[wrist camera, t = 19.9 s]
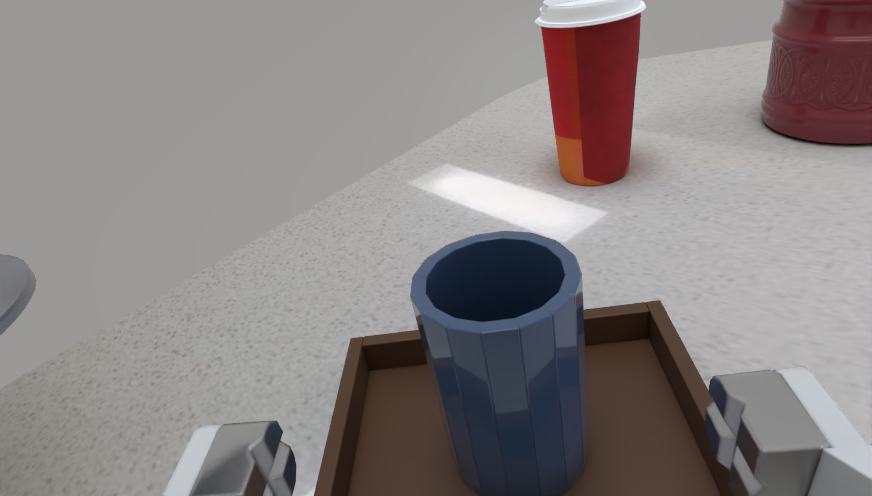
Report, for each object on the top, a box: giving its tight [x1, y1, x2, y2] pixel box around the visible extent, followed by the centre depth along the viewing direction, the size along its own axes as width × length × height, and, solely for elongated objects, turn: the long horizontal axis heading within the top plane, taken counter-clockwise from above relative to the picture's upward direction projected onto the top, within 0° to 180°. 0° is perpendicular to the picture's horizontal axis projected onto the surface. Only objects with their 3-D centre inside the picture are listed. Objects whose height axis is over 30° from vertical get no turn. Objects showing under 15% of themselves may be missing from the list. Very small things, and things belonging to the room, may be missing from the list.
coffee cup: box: [535, 0, 646, 186], centre depth 45 cm, size 8×8×15 cm
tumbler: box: [410, 231, 589, 496], centre depth 23 cm, size 6×6×10 cm
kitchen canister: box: [761, 0, 872, 144], centre depth 45 cm, size 13×13×18 cm
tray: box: [314, 301, 734, 496], centre depth 25 cm, size 18×14×2 cm
